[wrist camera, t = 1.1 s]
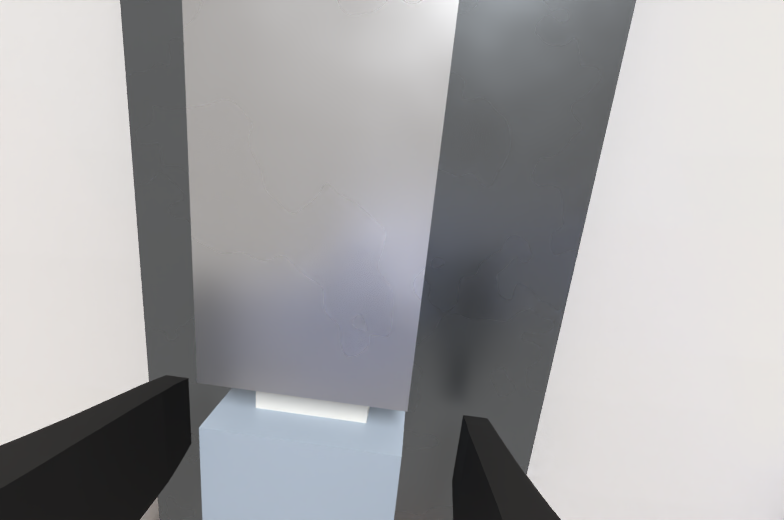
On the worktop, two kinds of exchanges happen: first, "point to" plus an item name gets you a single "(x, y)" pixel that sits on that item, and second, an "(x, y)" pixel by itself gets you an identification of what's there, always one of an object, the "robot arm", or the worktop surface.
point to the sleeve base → (366, 207)
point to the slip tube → (299, 459)
